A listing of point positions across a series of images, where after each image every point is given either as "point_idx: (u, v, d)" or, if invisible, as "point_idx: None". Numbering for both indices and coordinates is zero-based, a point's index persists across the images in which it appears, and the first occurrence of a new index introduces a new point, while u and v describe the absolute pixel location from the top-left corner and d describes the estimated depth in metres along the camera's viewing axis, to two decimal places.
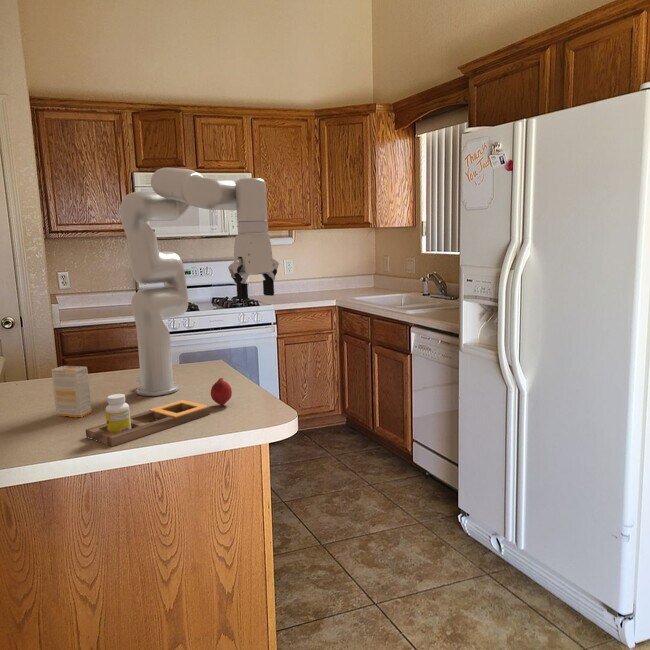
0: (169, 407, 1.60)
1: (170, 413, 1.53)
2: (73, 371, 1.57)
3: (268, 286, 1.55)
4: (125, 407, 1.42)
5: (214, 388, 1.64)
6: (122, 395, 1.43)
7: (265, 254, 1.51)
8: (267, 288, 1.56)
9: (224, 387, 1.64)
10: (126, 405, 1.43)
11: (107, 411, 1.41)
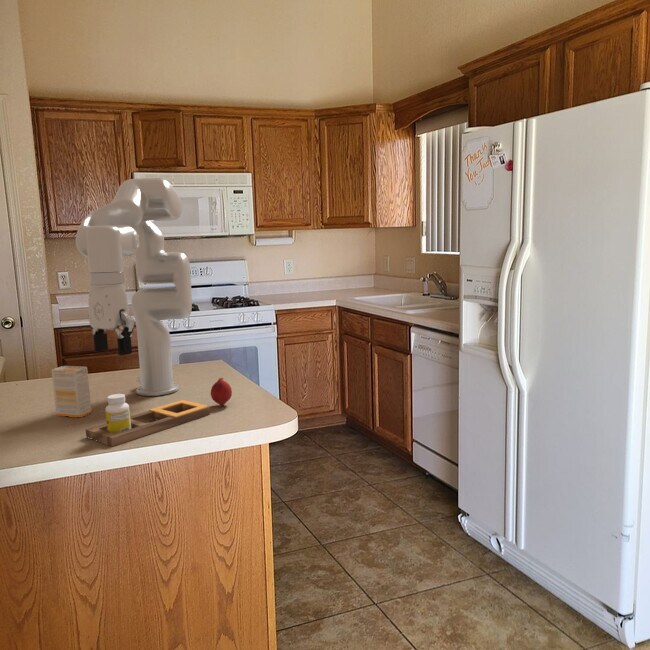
0: (169, 407, 1.60)
1: (170, 413, 1.53)
2: (73, 371, 1.57)
3: (103, 340, 1.44)
4: (125, 407, 1.42)
5: (214, 388, 1.64)
6: (122, 395, 1.43)
7: None
8: (101, 343, 1.44)
9: (224, 387, 1.65)
10: (126, 405, 1.43)
11: (107, 411, 1.41)
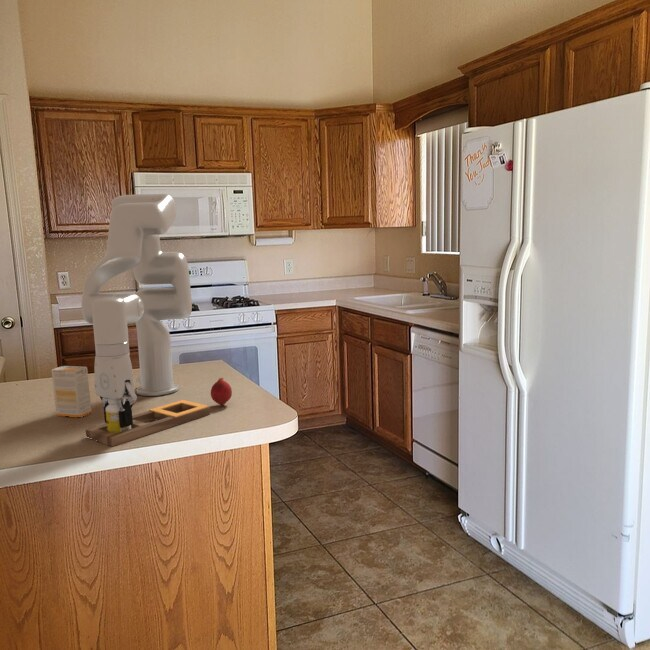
0: (169, 407, 1.60)
1: (170, 413, 1.53)
2: (73, 371, 1.57)
3: None
4: None
5: (214, 388, 1.64)
6: None
7: None
8: None
9: (225, 387, 1.65)
10: None
11: (107, 411, 1.41)
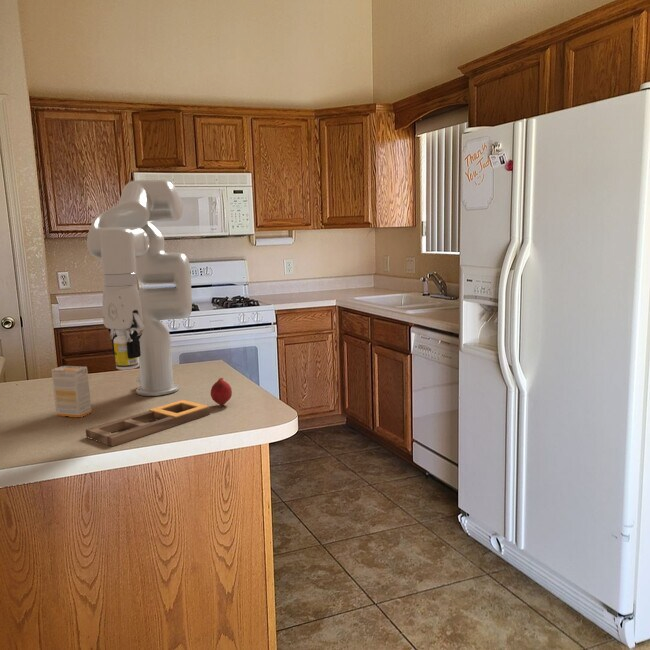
0: (169, 407, 1.60)
1: (170, 413, 1.53)
2: (73, 371, 1.57)
3: None
4: None
5: (214, 388, 1.64)
6: (130, 327, 1.44)
7: None
8: None
9: (224, 387, 1.64)
10: None
11: (115, 342, 1.42)
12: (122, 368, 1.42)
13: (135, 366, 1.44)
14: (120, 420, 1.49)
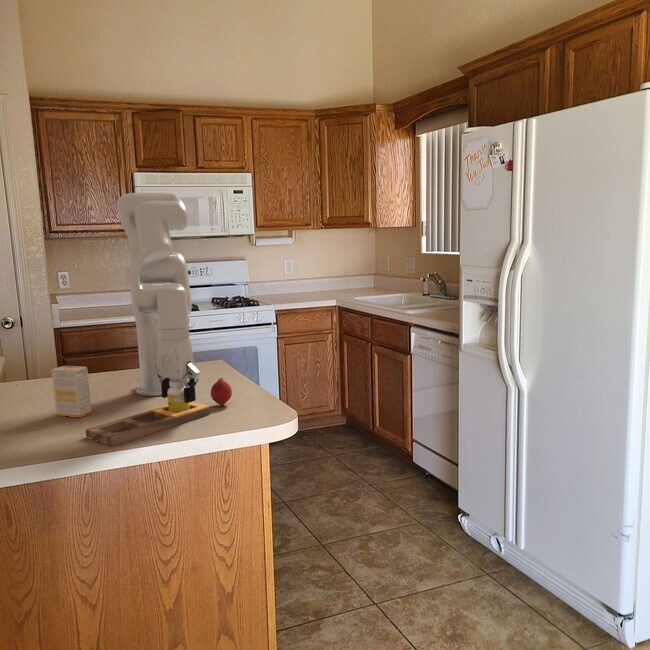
0: None
1: (170, 413, 1.53)
2: (73, 371, 1.57)
3: (169, 387, 1.60)
4: None
5: (214, 388, 1.64)
6: None
7: None
8: None
9: (224, 387, 1.64)
10: None
11: (169, 393, 1.55)
12: None
13: None
14: (120, 420, 1.49)
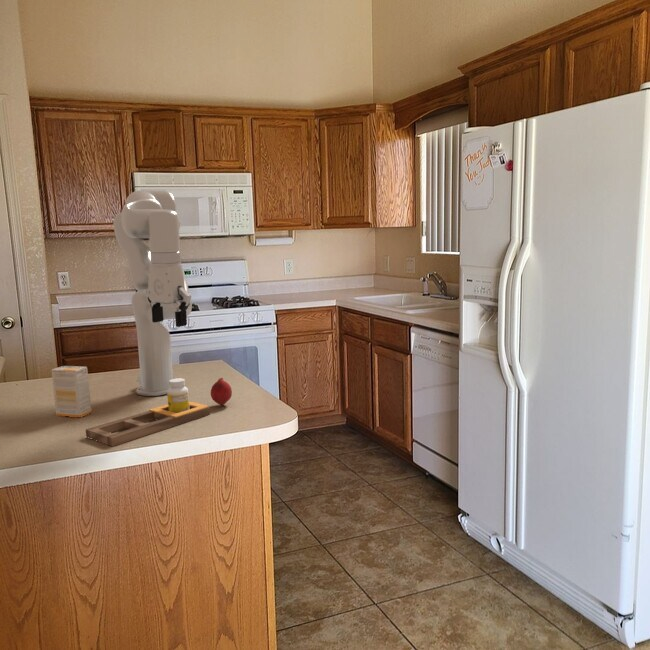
0: None
1: (170, 413, 1.53)
2: (73, 371, 1.57)
3: (159, 312, 1.61)
4: (185, 390, 1.56)
5: (214, 388, 1.64)
6: (182, 379, 1.57)
7: None
8: (158, 315, 1.61)
9: (224, 387, 1.64)
10: (186, 388, 1.57)
11: (169, 393, 1.55)
12: None
13: None
14: (120, 420, 1.49)
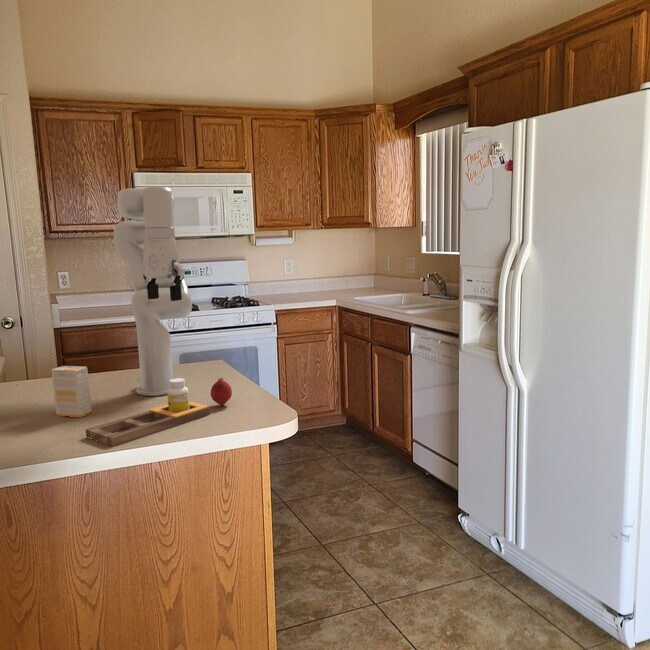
0: None
1: (170, 413, 1.53)
2: (73, 371, 1.57)
3: (155, 290, 1.63)
4: (185, 390, 1.56)
5: (214, 388, 1.64)
6: (182, 379, 1.57)
7: None
8: (154, 292, 1.63)
9: (224, 387, 1.64)
10: (186, 388, 1.57)
11: (169, 393, 1.55)
12: None
13: None
14: (120, 420, 1.49)
